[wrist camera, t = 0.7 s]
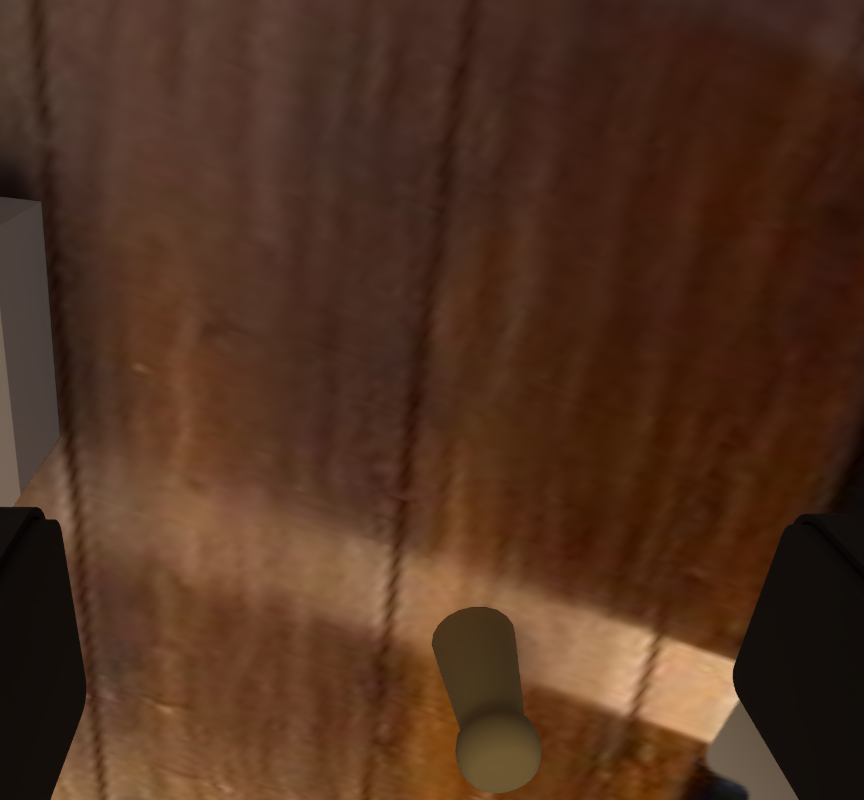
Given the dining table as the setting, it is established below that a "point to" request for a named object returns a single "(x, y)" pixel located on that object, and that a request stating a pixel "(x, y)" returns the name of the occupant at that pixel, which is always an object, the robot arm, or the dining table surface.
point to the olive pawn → (487, 699)
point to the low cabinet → (24, 349)
